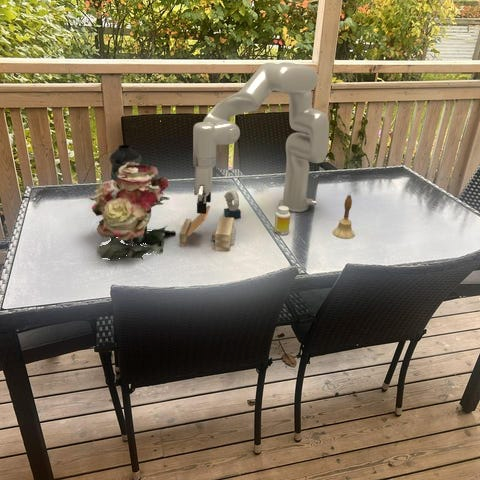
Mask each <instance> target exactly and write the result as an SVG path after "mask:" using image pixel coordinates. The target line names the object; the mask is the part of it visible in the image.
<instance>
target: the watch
mask: <svg viewBox="0 0 480 480" xmlns="http://www.w3.org/2000/svg"><path fill="white" fill-rule="evenodd" d="M223 197H224V199H225V201H226V205H227V208H223V217H229V218H234V220H237V219H241V217H242V216H241V215H242V211H241V209H239V207H240V197H239V194H238V192H237V191H236V190H228V191H226V192H225V193H224V195H223Z"/></svg>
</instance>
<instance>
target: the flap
mask: <svg viewBox="0 0 480 480" xmlns="http://www.w3.org/2000/svg"><path fill="white" fill-rule="evenodd" d="M210 209H211V205H207V212H206V214H199V213H198V215H197V216H196V218H195V219H194V220H191V225H190V228H189V230H188V233H187V235H186V237H187V238H188V237H189V238H190V236H191V235H193V234H192V233H194V232H195V231H196V230H197V229H198V228H199V227H200V226H201V225H202V224H203V223H204V222H205V221H206V219H207V217H208V214H209V212H210ZM189 238H188V239H189Z"/></svg>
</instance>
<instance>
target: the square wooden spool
mask: <svg viewBox="0 0 480 480" xmlns="http://www.w3.org/2000/svg"><path fill="white" fill-rule="evenodd" d="M234 221H235V219H234V218H229V217H225V216H220V218H219V221H218V224H217V227H216V230H215V231H216V232H215V233H214V234H215V240H214V241H215V242H214V243H215V244H214V250H215V251H220V252H222V251H223V252H230V250H231V231H232V227H234V226H235V225H234V223H235V222H234ZM191 223H192V219H191V218H186V219H185V221H184V222H183V224H182V227H181V229H180V231H179V247H186V245H187V244H188V240H189V238H190V236H189V237H188V238H187V237H186V235H187V233H188V230H189V228H190V225H191ZM234 228H235V227H234Z"/></svg>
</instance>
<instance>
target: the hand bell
mask: <svg viewBox="0 0 480 480" xmlns="http://www.w3.org/2000/svg"><path fill="white" fill-rule="evenodd" d="M352 203H353V199H352V196H351V194H348V195H347V197H346V199H345V201H344V214H343V218H341V219H340V220H339V221H338V225H337V226H336V228H334V229H333V230H332V234H333V236H335V237H336V238H339V239H343V240H349V239H353V238H354V237H355V232H354V231H353V230H352V220H350V219H349V213H350V210H351V208H352V205H353V204H352Z"/></svg>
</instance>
